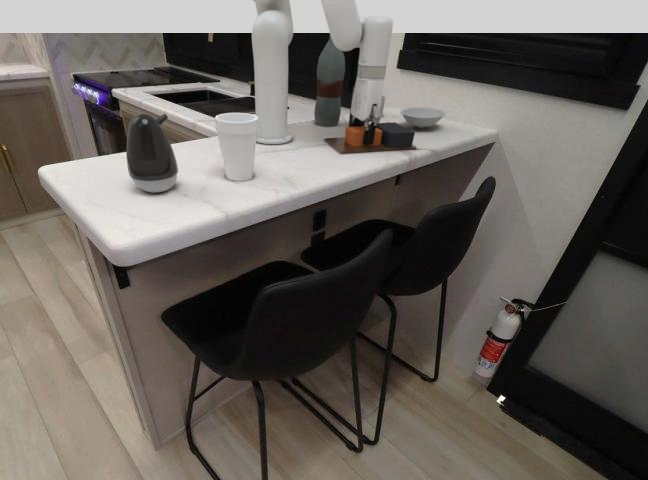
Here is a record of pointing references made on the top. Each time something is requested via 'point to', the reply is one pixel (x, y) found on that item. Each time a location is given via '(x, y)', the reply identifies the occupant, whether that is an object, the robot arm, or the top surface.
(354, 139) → the loose pad
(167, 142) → the pump dispenser
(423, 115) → the dish
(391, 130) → the back pad
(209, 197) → the top surface
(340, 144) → the board
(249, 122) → the foam cup
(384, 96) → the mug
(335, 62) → the bottle
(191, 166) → the top surface
